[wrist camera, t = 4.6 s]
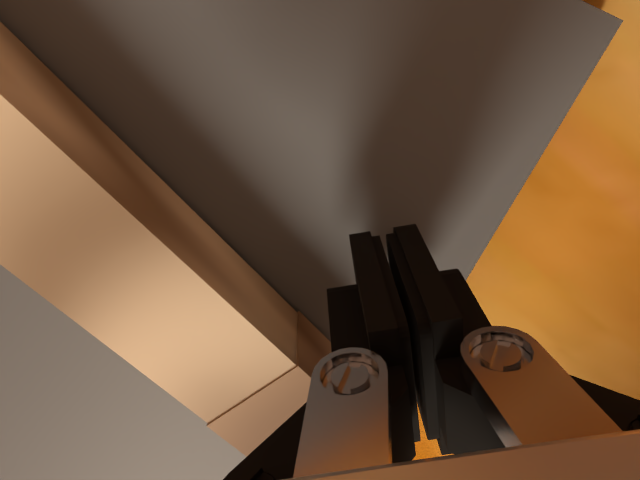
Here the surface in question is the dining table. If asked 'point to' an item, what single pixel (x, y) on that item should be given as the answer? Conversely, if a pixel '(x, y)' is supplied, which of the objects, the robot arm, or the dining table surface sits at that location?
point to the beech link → (141, 262)
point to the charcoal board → (279, 172)
